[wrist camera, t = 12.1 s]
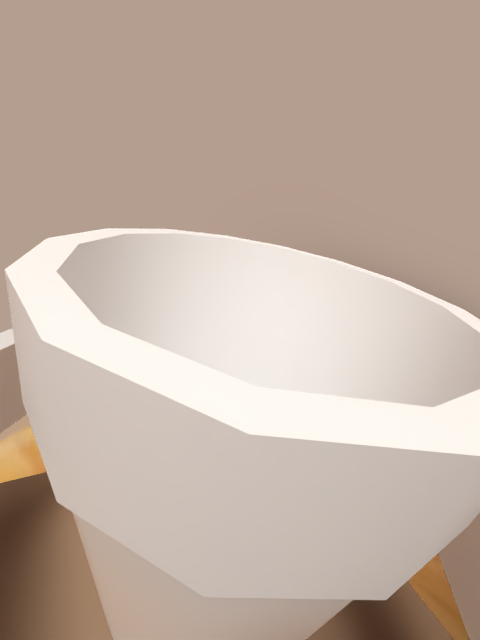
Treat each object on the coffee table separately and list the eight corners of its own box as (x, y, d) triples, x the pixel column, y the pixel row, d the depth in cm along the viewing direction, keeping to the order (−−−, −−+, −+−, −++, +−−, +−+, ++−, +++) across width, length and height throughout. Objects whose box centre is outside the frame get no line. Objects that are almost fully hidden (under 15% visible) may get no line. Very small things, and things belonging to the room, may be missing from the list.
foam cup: (-13, 670, 9) (-171, 243, 4) (166, 454, 17) (194, 223, 12) (284, 947, 6) (1080, 811, 1) (328, 537, 15) (456, 290, 9)
